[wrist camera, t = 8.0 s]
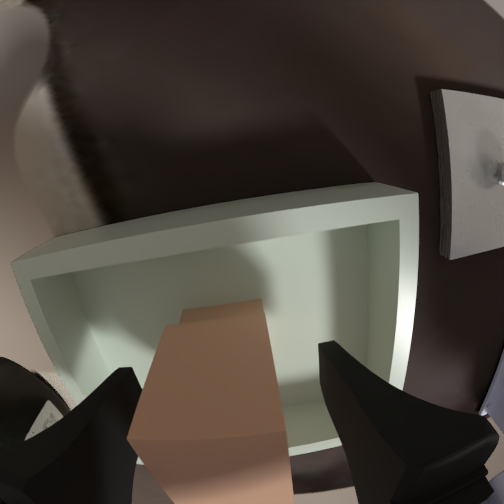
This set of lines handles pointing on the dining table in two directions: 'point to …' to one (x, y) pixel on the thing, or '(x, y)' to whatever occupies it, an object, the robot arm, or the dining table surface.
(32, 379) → the ink bottle
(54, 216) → the dining table surface
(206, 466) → the light orange block
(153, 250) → the parts bin
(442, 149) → the stud plate
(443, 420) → the robot arm
